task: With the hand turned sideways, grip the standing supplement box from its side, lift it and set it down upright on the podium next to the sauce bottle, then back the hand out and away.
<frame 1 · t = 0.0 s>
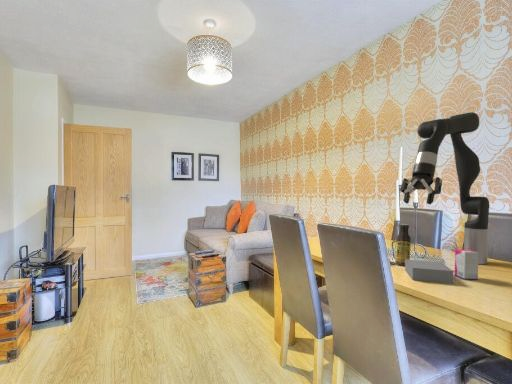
hand: (417, 203, 107), 31 cm above the table, tool tilted 20°, fingers open, 8 cm apart
supplement box: (466, 278, 114), on the table
podium: (427, 276, 115), on the table
sauce bottle: (402, 265, 133), on the table
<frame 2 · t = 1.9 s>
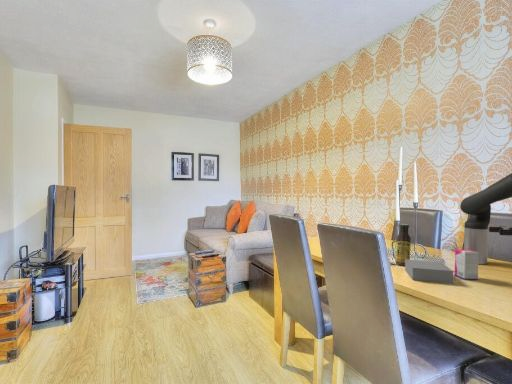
hand: (494, 230, 111), 20 cm above the table, tool horizontal, fingers open, 8 cm apart
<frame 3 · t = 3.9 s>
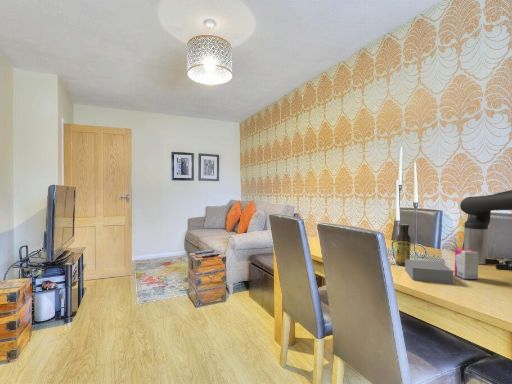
hand: (490, 263, 111), 7 cm above the table, tool horizontal, fingers open, 8 cm apart
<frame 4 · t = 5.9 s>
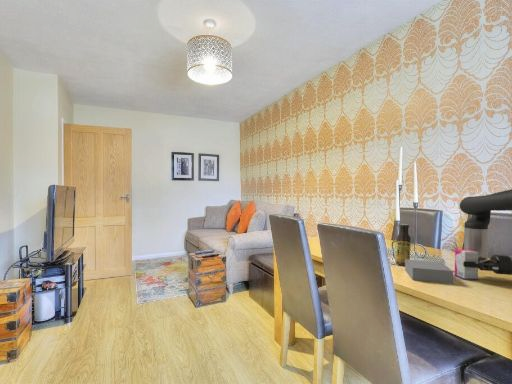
hand: (460, 261, 114), 7 cm above the table, tool horizontal, fingers closed on supplement box, 7 cm apart
supplement box: (466, 278, 114), on the table, touching gripper
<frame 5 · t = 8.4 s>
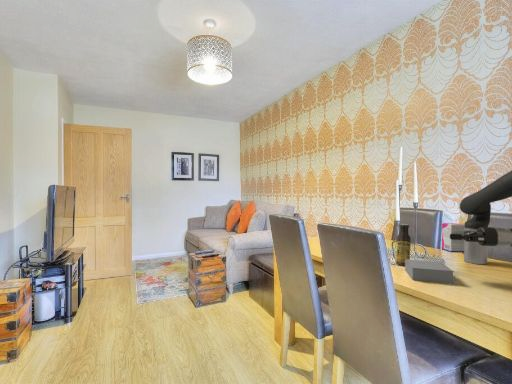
hand: (446, 235, 114), 18 cm above the table, tool horizontal, fingers closed on supplement box, 7 cm apart
supplement box: (452, 251, 114), point 11 cm above the table, touching gripper
when the fingers open (13 cm above the table, at t = 10.9 s): supplement box drops 1 cm, resting on podium.
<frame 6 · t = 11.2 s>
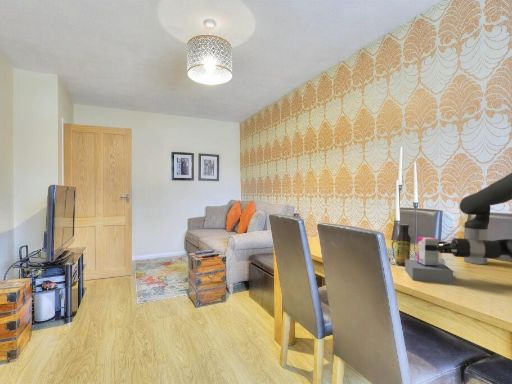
hand: (422, 245, 116), 13 cm above the table, tool horizontal, fingers open, 8 cm apart
supplement box: (427, 264, 116), point 5 cm above the table, touching podium
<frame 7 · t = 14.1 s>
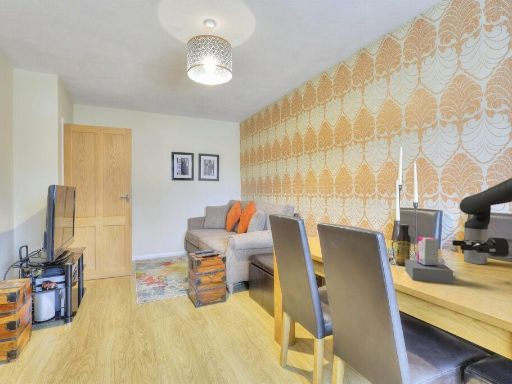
hand: (456, 244, 113), 14 cm above the table, tool horizontal, fingers open, 8 cm apart
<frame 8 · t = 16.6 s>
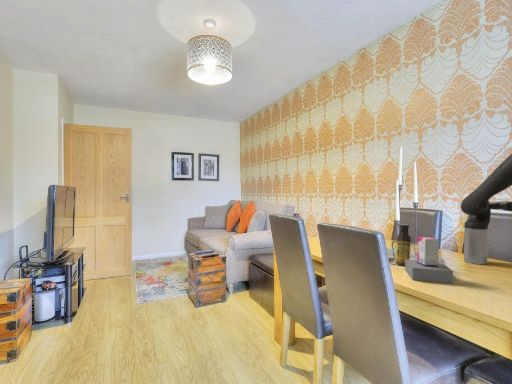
hand: (482, 205, 115), 30 cm above the table, tool horizontal, fingers open, 8 cm apart
at the end: supplement box inside the target area on the podium (0.4 cm from its centre), point 4.8 cm above the podium's base; supplement box tilted 0°; the gripper is holding nothing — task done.
